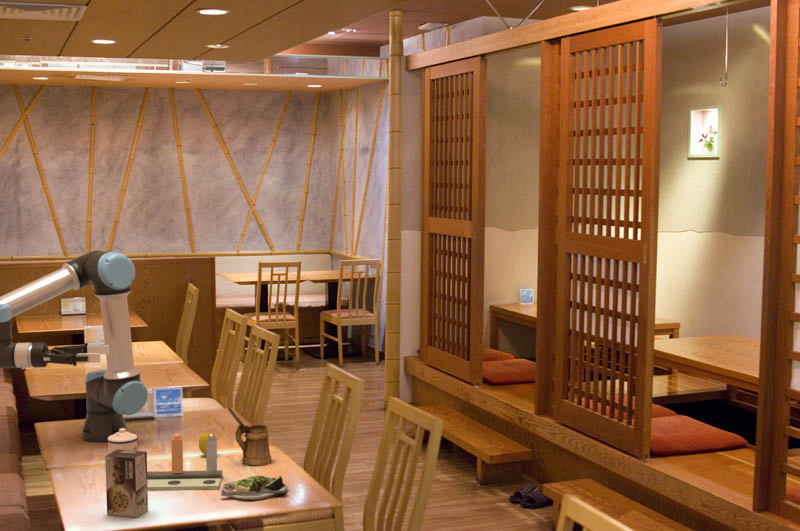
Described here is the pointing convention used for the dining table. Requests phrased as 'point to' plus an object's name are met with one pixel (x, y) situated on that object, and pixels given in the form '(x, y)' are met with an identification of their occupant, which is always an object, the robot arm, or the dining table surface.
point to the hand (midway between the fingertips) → (104, 353)
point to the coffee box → (126, 483)
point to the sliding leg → (177, 453)
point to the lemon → (203, 442)
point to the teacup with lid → (122, 441)
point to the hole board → (183, 484)
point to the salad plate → (254, 488)
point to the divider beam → (208, 474)
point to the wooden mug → (253, 443)
